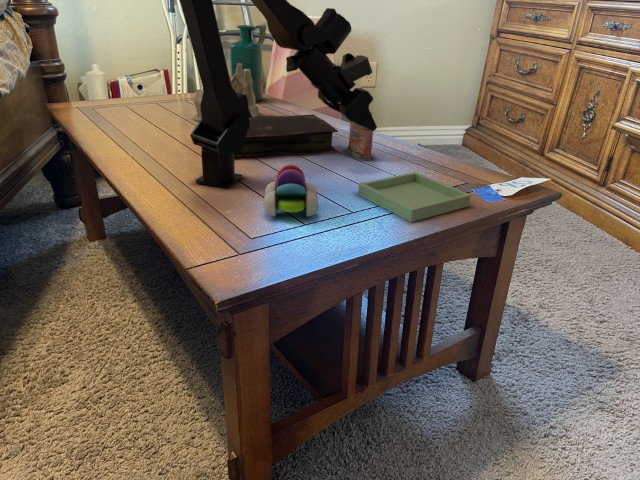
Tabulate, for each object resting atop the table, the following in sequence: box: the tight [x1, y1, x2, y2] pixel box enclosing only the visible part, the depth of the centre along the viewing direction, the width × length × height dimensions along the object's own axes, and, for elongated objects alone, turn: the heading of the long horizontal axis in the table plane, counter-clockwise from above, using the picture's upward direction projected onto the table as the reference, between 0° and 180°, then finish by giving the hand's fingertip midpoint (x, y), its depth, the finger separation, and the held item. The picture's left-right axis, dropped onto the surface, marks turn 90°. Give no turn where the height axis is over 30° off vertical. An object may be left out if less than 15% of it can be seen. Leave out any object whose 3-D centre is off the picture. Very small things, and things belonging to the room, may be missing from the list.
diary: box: [217, 113, 339, 158], centre depth 115 cm, size 19×25×5 cm
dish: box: [357, 171, 472, 223], centre depth 89 cm, size 14×14×2 cm
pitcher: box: [229, 24, 267, 103], centre depth 156 cm, size 10×8×22 cm
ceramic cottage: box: [193, 64, 260, 122], centre depth 136 cm, size 16×16×15 cm
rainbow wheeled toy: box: [263, 164, 319, 218], centre depth 81 cm, size 8×10×7 cm
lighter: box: [347, 111, 374, 161], centre depth 110 cm, size 8×3×10 cm, turn 25°
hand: (367, 124), depth 110 cm, fingers closed on lighter, 8 cm apart
